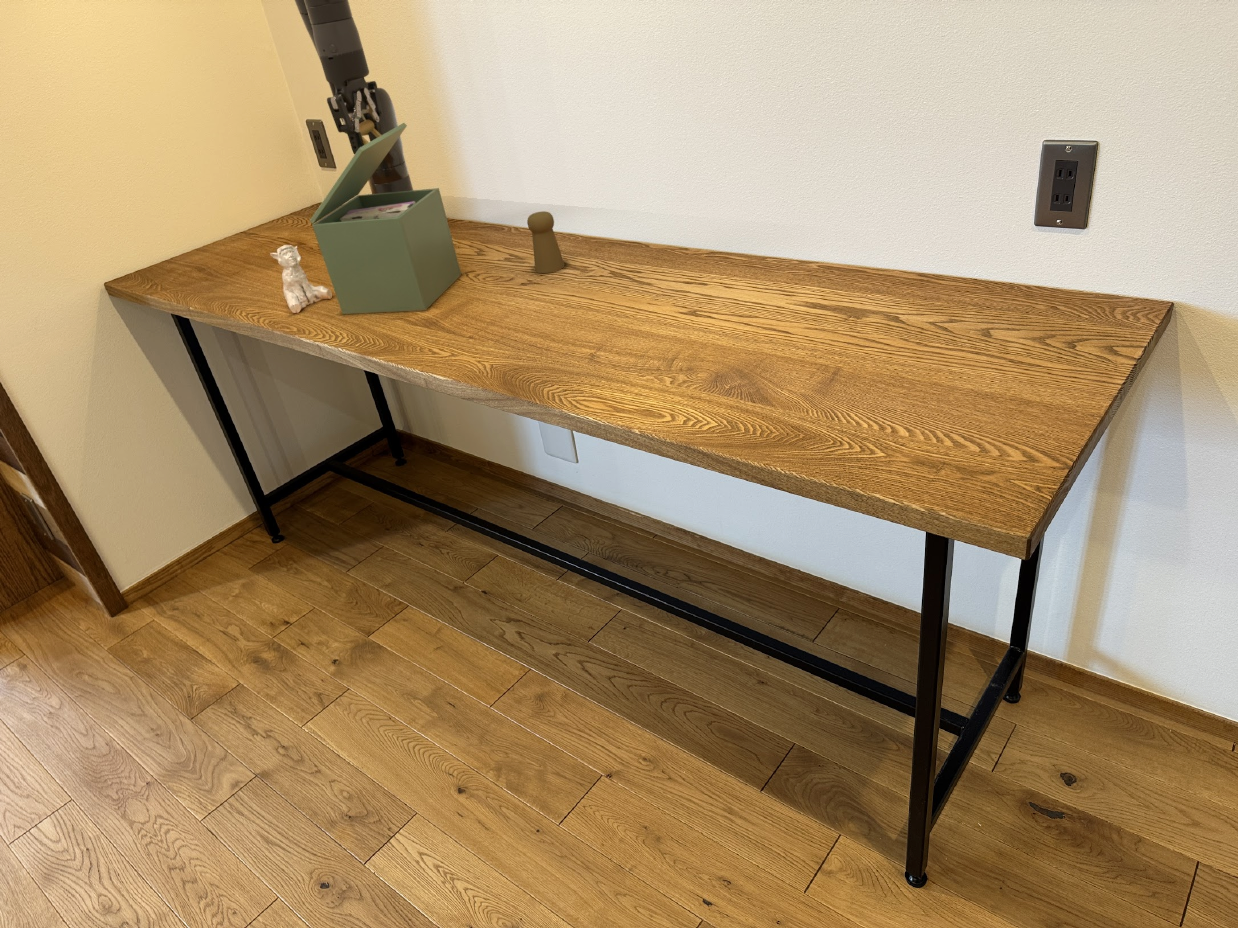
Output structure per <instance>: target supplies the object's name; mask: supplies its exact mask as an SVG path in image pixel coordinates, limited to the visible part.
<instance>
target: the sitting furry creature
mask: <svg viewBox="0 0 1238 928" xmlns="http://www.w3.org/2000/svg"><path fill="white" fill-rule="evenodd" d="M269 256H270V257H271V258H272V259H274V260H277V263H278V265H280V267H282V268H283V269H282V273H281V280H282V283H283V285H282V286H283V287H282V289H283V290H282V292H283V293H282V294H283V295H284V296H283V298H284V299H285V301H286V303H287V306H288V309H289V310H290V312H292V313H293V314H296V313H297V314H299V312H301V310H302V309H304V308H306V307H307V306H310V305H311V304H314V303H317V302H320V301H321V300H331V299H332V297H333V291H332V290H331V289H330V288H327V287H325V286H323V285H317V286H314V285H313V284H311V282H309V279H308V278H307V277H308V275H307V274H306V273H305V270H303V267H302V266H301V263H300V262H301V260H302V256H301V254H300V253H299V251H298V245H296V246H293V245H292V244H284V245H282V246H280V247H279V248H277V249H276V252H270V253H269Z"/></svg>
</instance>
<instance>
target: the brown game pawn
mask: <svg viewBox="0 0 1238 928" xmlns="http://www.w3.org/2000/svg"><path fill="white" fill-rule="evenodd" d="M526 223H527V228H528V230H529V231H530V232H531V235H532V247H533V248H532V249H533V261H534V262H533V263H534V271H535V272H536V273H538V274H550V273H555V272H558V271H560V270H562V269H563V268H565V262H564V258H563V255H562V253H561V250H560V246H559V244H558V241H557V238H556V235H555V232H554V229H553V228H554V226H555V219H554V216H553V215H552V213H550V212H549V211H546V210H545V211H537V212H533V213H531V214H529V216H528V217H527V221H526Z"/></svg>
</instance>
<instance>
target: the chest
mask: <svg viewBox="0 0 1238 928" xmlns="http://www.w3.org/2000/svg"><path fill="white" fill-rule="evenodd" d="M412 201H415V204H414V205H413V206H411V207H410V208H409V209H407V210H406V211H405V212H403V213H402V214H401V215H399V216H398V217H393V218H380V219H368V220H355V221H343V222H340V218H342V217H343V216H344V215H345V214H346V213H347V212H348V211H349V210H355V209H363V208H370V207H377V206H384V205H392V204H399V203H406V202H412ZM311 226H312V229H313V233H314V235H315V238H316V241H317V244H318V246H319V249H320V253H321V255H322V258H323V261H324V264H325V268H326V270H327V273H328V276H329V278H330V282H331V284H332V287H333V290H334V293H335V297H336V299H337V301H338V305H339V307H340V311H341V314H342V315H354V314H377V313H399V312H419V311H427V309H429V308H430V307H431V306H432V305H433V303H435V302H436V301H437V300H438V299H439V298H440V297H441V296H442V295H443V294H444V293H445V292H446V291H447V290H448V289H449V288H450V287H451V286H452V285H453V284H454V283H455V282H456V281H457V280H458V279H459V278H460V277H461V276H462V271H461V268H460V264H459V259H458V256H457V253H456V249H455V245H454V240H453V237H452V233H451V229H450V225H449V221H448V218H447V215H446V210H445V206H444V203H443V199H442V194H441V190H440V188H439V187H437V188H424V189H413V190H412V191H401V192H390V193H378V194H372V193H370V194H369V193H368V194H358V195H357V196H355V197H354V198H352V199H351V200H349V201H347V202H346V203H344V204H343V205H341V206H340V207H338V208H337V209H335V210H334V211H332V212H331V213H329V214H328V215H326V216H324V217H323V218H321V219H320V220H318V221H317V222H315V223H314V224H312V225H311Z"/></svg>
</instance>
